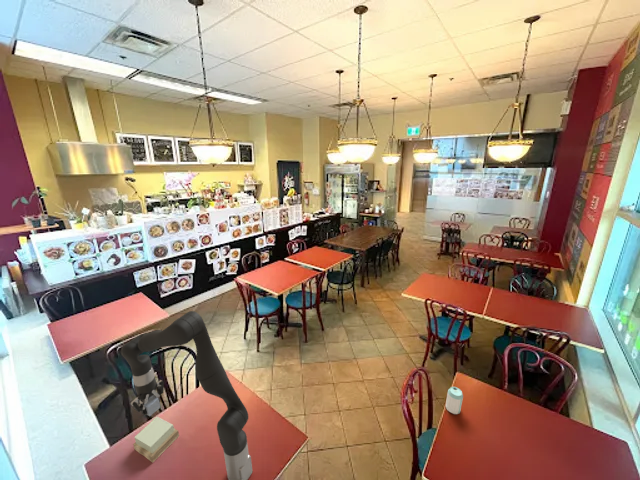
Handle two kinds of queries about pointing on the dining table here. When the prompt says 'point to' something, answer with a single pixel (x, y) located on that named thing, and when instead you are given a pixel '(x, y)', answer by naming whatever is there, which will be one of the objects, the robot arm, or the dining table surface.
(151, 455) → the base block
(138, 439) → the top block
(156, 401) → the slate cube
